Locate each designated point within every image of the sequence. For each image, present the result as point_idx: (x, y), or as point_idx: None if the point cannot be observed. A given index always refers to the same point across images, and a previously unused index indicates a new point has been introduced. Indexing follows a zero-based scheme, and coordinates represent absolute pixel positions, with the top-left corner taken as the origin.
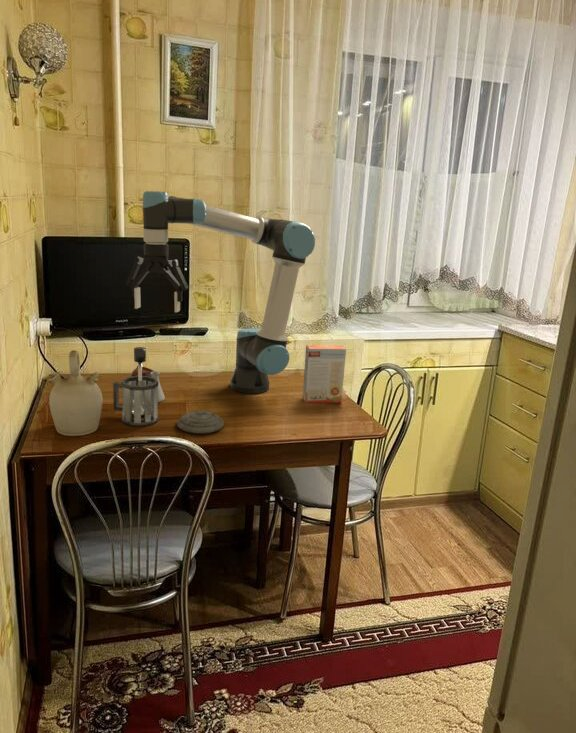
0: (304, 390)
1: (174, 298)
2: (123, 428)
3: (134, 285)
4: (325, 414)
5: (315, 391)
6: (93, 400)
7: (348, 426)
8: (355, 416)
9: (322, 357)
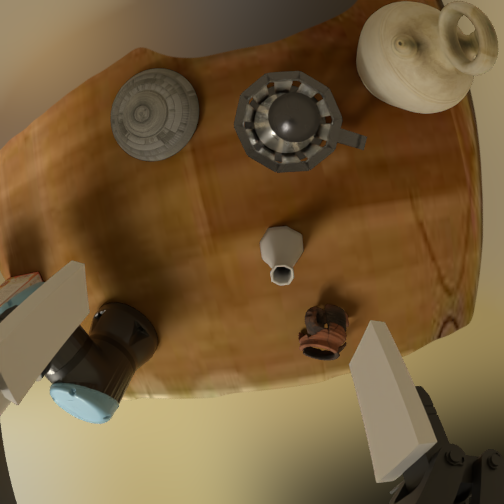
0: None
1: (25, 318)
2: (307, 73)
3: (441, 468)
4: (11, 230)
5: (19, 281)
6: (372, 17)
7: None
8: None
9: None
